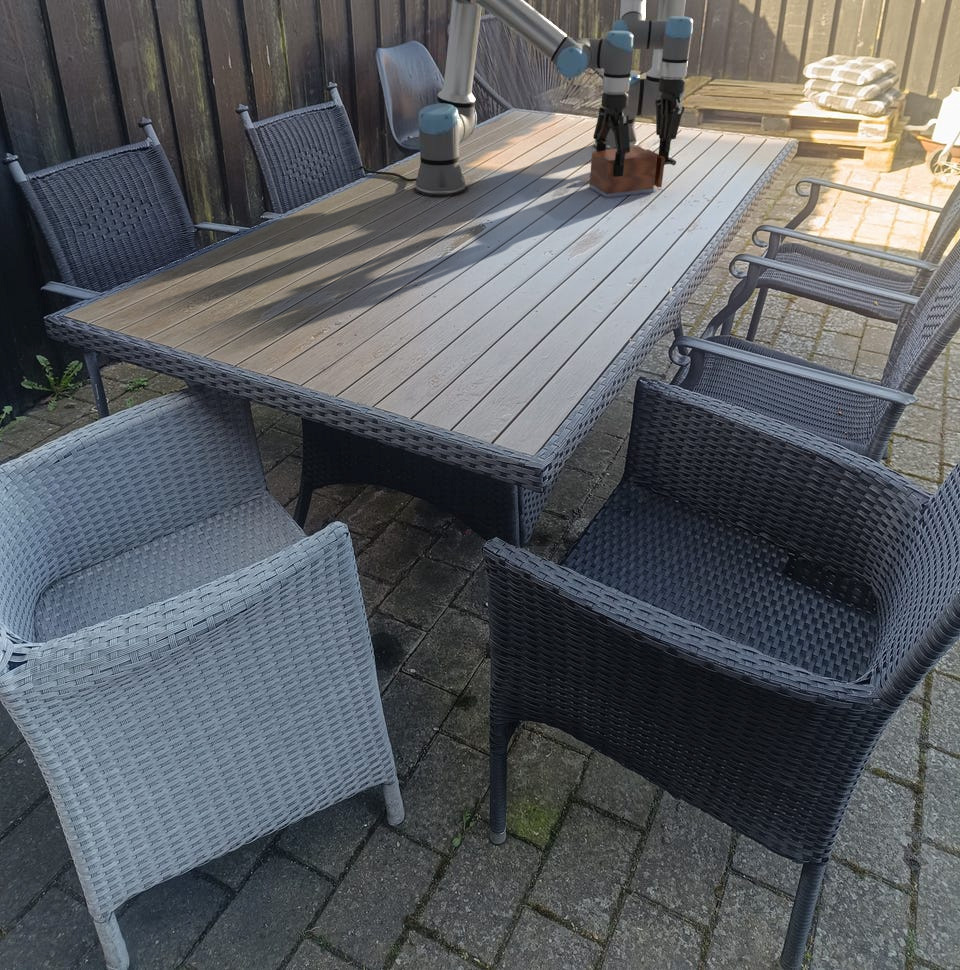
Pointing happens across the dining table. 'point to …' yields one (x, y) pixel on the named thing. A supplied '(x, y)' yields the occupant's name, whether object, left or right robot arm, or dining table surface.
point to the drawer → (661, 168)
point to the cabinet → (635, 172)
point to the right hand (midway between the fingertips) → (662, 161)
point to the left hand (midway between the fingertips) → (608, 170)
